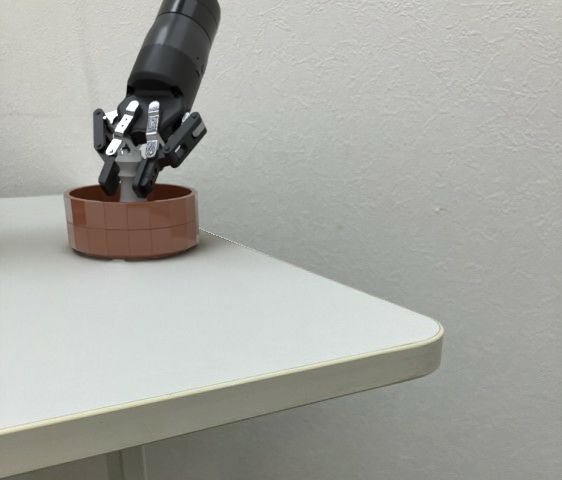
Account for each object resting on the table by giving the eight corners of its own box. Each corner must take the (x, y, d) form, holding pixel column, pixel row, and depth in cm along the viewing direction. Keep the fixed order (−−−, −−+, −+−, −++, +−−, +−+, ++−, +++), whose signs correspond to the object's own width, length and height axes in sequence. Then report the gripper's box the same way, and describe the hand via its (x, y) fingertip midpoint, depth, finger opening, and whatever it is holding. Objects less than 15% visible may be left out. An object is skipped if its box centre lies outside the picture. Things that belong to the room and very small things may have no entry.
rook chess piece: (163, 223, 75) (158, 149, 72) (142, 231, 71) (136, 153, 68) (128, 220, 76) (122, 147, 73) (106, 228, 72) (99, 151, 69)
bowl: (42, 254, 70) (34, 196, 68) (115, 228, 83) (111, 179, 80) (160, 267, 66) (156, 206, 64) (219, 239, 78) (217, 187, 76)
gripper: (101, 41, 74) (47, 166, 69) (216, 40, 70) (167, 173, 65) (130, 91, 81) (83, 208, 76) (236, 94, 77) (194, 218, 72)
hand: (122, 191), depth 70 cm, fingers closed on rook chess piece, 3 cm apart
